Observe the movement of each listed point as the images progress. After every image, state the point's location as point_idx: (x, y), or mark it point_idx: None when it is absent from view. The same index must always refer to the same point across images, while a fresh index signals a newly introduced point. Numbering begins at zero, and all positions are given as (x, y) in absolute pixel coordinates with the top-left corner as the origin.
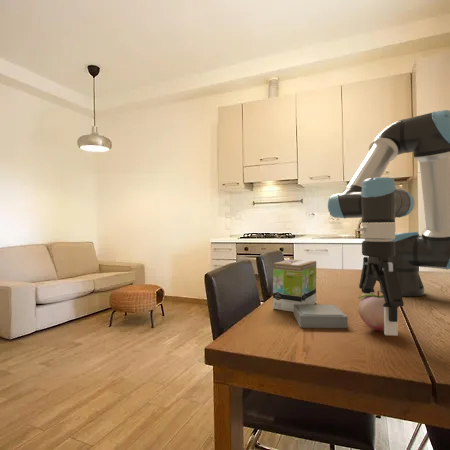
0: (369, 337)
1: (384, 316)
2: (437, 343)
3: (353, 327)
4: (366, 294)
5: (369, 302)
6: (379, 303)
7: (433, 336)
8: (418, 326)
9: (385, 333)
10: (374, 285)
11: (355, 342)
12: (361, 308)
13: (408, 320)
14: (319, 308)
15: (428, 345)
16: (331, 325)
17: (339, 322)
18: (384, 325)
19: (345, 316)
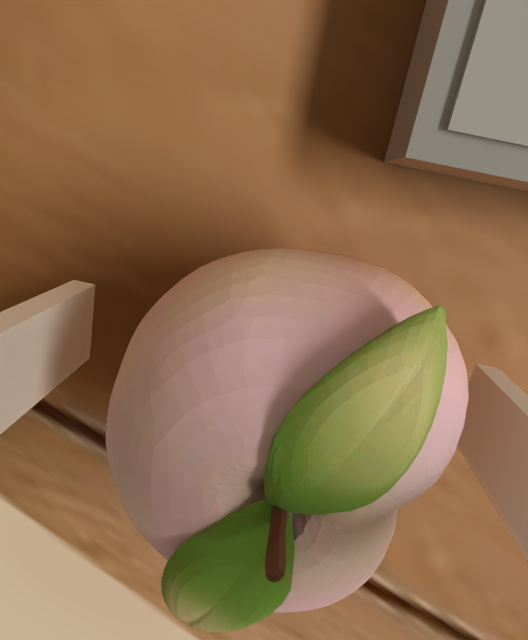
0: (178, 217)
1: (14, 319)
2: (67, 513)
3: (392, 220)
4: (343, 404)
5: (204, 329)
6: (133, 406)
7: (162, 563)
8: None
9: (69, 282)
10: None
11: (93, 59)
12: (293, 256)
13: (433, 629)
14: None
15: (41, 456)
16: (426, 11)
17: (413, 84)
18: (57, 298)
19: (411, 136)
